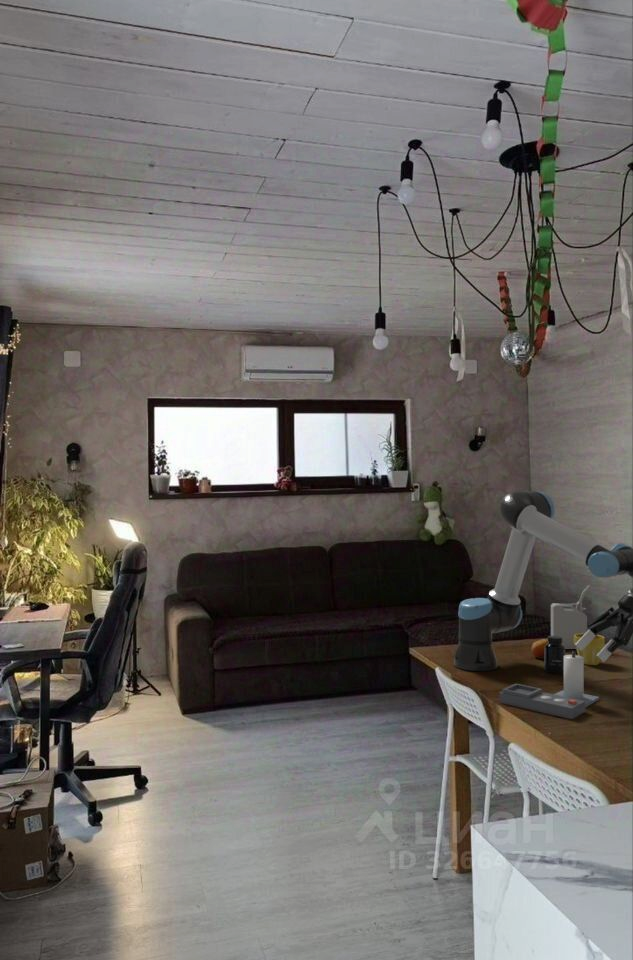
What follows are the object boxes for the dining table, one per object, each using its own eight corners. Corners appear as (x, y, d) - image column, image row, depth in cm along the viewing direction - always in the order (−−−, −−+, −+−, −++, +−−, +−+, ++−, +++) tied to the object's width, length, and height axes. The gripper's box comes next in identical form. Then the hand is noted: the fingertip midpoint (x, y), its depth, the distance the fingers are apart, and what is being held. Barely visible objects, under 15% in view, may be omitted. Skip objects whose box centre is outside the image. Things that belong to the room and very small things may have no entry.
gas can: (590, 647, 279) (590, 584, 279) (593, 650, 274) (593, 586, 274) (550, 646, 281) (550, 583, 281) (553, 649, 276) (553, 585, 276)
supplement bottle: (555, 675, 238) (554, 639, 238) (540, 670, 244) (539, 636, 244) (569, 672, 241) (569, 637, 241) (554, 668, 247) (554, 634, 247)
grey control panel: (499, 702, 208) (499, 689, 208) (513, 695, 215) (513, 682, 215) (572, 719, 193) (572, 704, 193) (585, 711, 200) (585, 697, 200)
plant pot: (597, 659, 260) (597, 632, 260) (609, 666, 250) (609, 638, 250) (569, 659, 260) (569, 633, 260) (581, 666, 249) (580, 639, 249)
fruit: (556, 658, 256) (544, 637, 258) (537, 666, 260) (525, 646, 262) (561, 653, 263) (549, 634, 265) (542, 662, 266) (531, 642, 269)
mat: (547, 700, 210) (547, 697, 210) (563, 692, 218) (563, 689, 218) (584, 708, 203) (584, 705, 203) (599, 699, 211) (599, 696, 211)
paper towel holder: (560, 697, 211) (560, 651, 211) (568, 693, 215) (568, 648, 215) (579, 701, 207) (578, 655, 207) (586, 696, 211) (586, 651, 211)
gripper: (669, 618, 200) (619, 672, 199) (622, 603, 225) (577, 651, 223) (651, 600, 200) (601, 654, 198) (606, 587, 224) (561, 635, 223)
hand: (588, 653), depth 211 cm, fingers open, 13 cm apart
